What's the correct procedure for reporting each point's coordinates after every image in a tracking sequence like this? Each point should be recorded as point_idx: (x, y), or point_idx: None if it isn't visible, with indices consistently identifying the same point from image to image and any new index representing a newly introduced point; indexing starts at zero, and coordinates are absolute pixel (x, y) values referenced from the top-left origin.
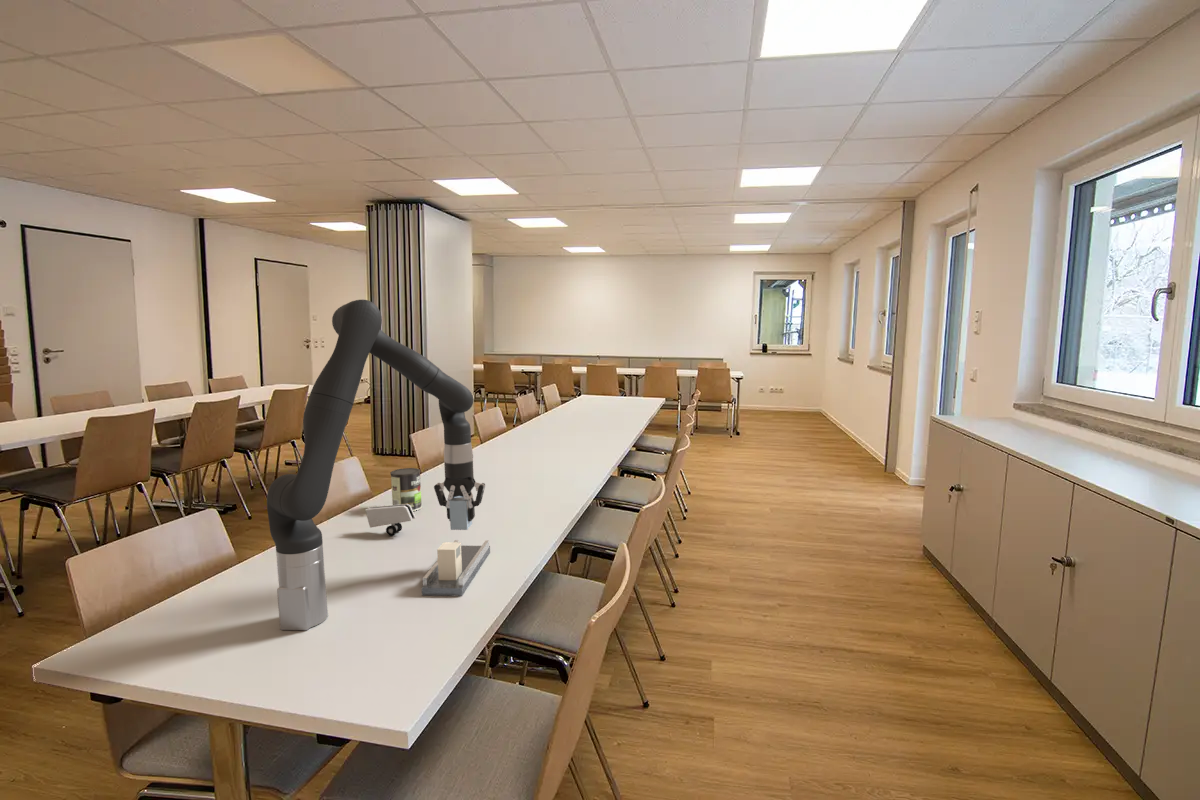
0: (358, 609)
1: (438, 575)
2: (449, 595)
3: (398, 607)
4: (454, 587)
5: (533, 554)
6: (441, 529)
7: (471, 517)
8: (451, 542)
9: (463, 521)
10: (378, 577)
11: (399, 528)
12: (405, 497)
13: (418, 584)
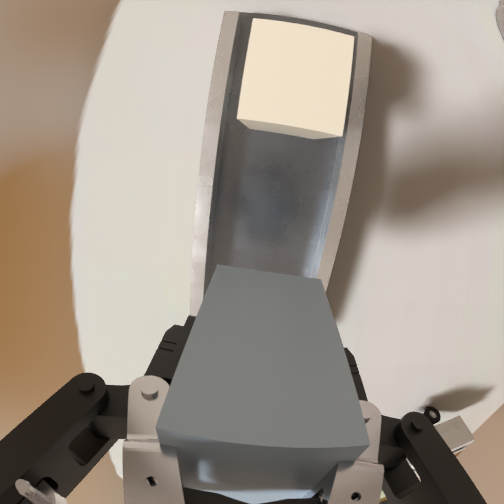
0: (469, 32)
1: None
2: None
3: (394, 3)
4: (255, 17)
5: (88, 291)
6: None
7: (179, 333)
8: (294, 124)
9: (231, 295)
10: (478, 197)
11: None
12: None
13: (385, 118)
